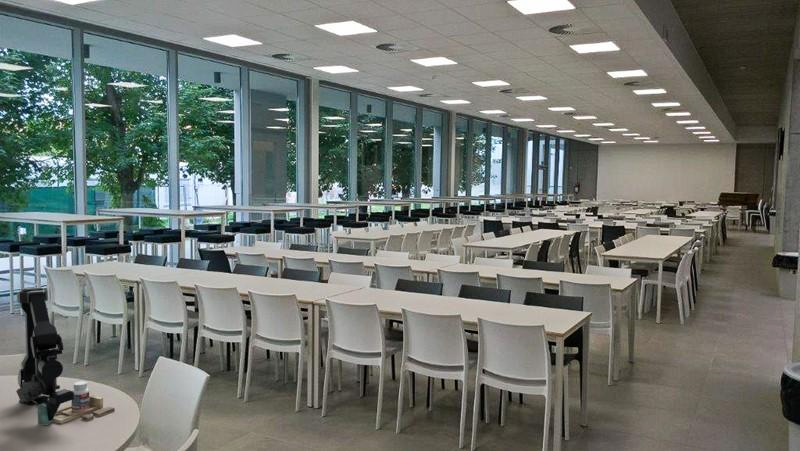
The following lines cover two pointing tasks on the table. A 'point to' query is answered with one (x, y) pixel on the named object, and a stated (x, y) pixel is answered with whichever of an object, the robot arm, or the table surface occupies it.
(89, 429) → the table surface
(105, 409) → the broken walnut strip
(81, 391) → the pill bottle
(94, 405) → the wooden frame with block
